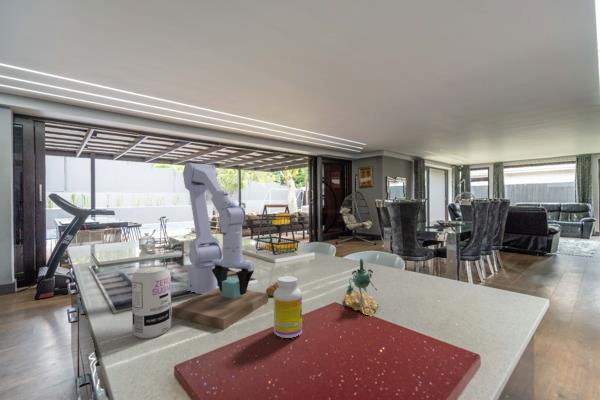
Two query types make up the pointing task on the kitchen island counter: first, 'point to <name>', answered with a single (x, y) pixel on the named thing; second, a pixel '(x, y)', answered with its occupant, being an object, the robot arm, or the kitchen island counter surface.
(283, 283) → the supplement bottle
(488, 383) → the kitchen island counter surface
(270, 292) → the pastry
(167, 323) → the supplement can
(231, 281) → the teal block
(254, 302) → the walnut pocket plate
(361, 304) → the frog figurine
